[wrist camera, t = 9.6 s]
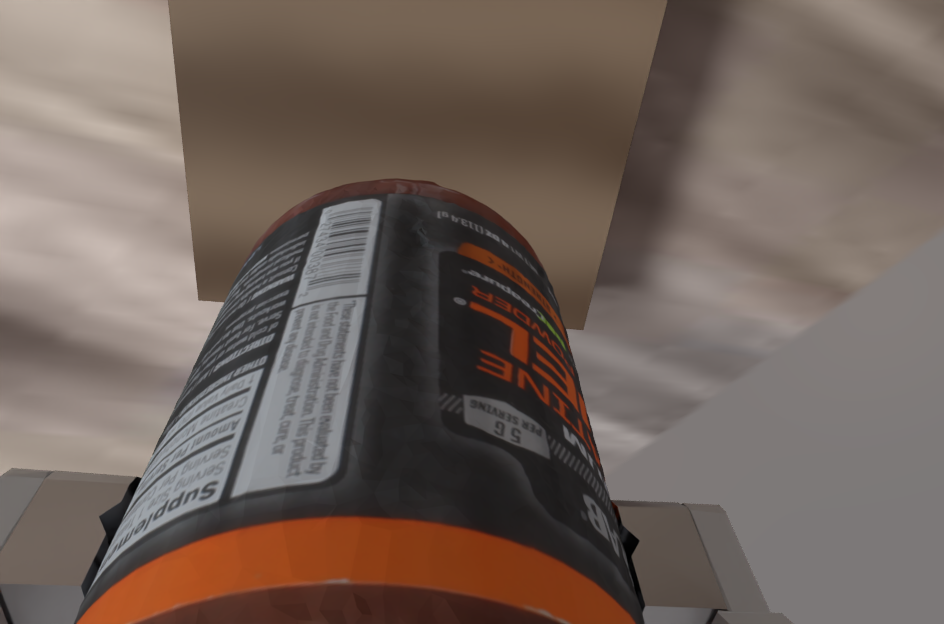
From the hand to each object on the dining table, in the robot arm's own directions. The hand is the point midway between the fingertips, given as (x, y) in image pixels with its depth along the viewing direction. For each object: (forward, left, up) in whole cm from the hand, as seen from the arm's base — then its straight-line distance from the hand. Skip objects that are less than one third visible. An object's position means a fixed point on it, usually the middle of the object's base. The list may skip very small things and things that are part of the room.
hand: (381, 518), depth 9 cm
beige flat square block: (0, 0, -18) cm, 18 cm away
